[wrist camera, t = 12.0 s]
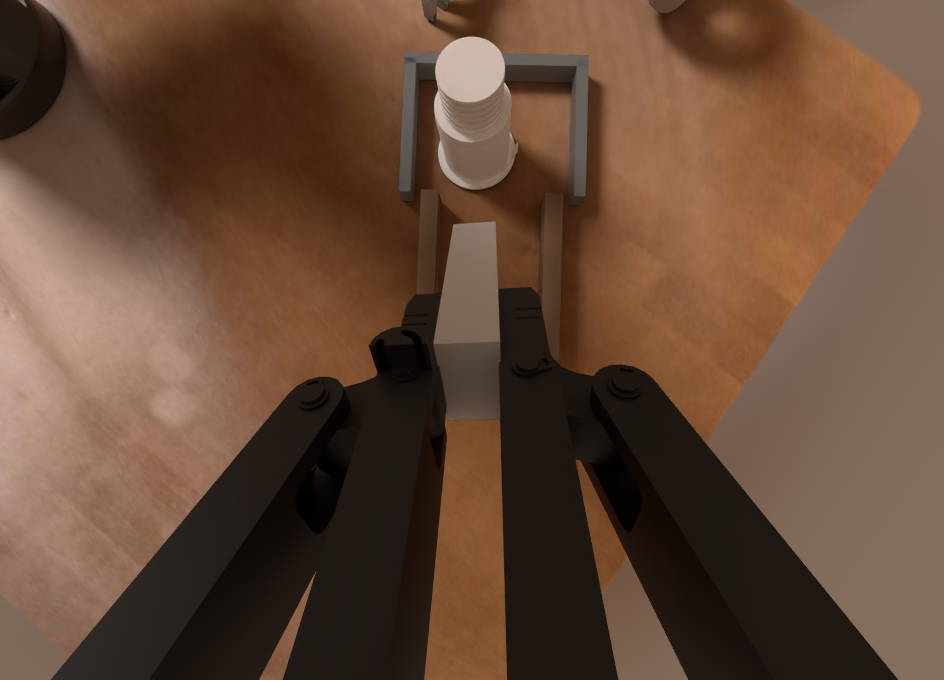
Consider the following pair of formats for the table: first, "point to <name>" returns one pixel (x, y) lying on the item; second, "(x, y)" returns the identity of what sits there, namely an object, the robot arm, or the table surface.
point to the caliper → (433, 8)
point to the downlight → (473, 114)
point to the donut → (665, 5)
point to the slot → (547, 257)
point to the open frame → (515, 71)
